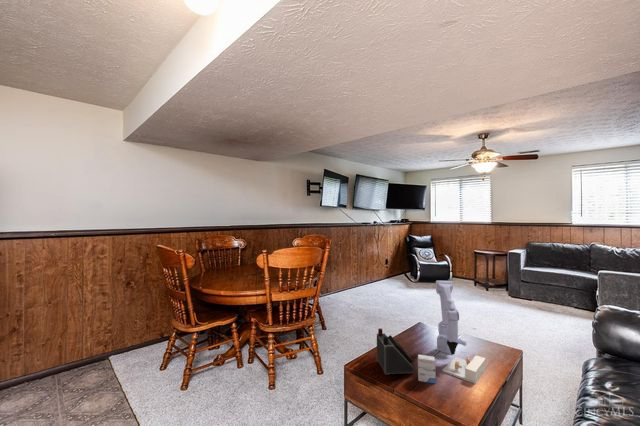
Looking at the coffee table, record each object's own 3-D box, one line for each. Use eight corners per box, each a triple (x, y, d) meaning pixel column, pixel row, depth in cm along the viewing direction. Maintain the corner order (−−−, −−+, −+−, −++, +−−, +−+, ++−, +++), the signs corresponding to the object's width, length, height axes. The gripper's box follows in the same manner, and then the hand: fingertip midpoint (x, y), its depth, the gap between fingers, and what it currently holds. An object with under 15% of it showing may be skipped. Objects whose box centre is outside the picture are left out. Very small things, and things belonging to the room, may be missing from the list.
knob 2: (466, 365, 158) (466, 359, 158) (468, 363, 160) (468, 356, 160) (471, 367, 156) (471, 360, 156) (474, 365, 158) (473, 358, 158)
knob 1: (454, 370, 153) (454, 363, 153) (457, 367, 156) (457, 360, 156) (460, 372, 151) (460, 365, 151) (462, 369, 154) (462, 362, 154)
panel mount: (442, 371, 154) (442, 360, 155) (455, 358, 169) (455, 348, 169) (475, 384, 143) (475, 372, 143) (486, 368, 157) (486, 358, 157)
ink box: (435, 378, 148) (434, 356, 148) (435, 384, 143) (435, 360, 143) (418, 375, 151) (417, 353, 151) (418, 380, 146) (417, 358, 146)
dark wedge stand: (414, 375, 151) (414, 338, 152) (385, 376, 150) (384, 339, 151) (403, 360, 167) (403, 326, 168) (376, 361, 166) (376, 327, 167)
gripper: (437, 329, 167) (437, 352, 167) (463, 336, 157) (463, 360, 157) (442, 326, 172) (442, 348, 172) (467, 332, 162) (467, 356, 162)
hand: (452, 354), depth 165 cm, fingers closed
